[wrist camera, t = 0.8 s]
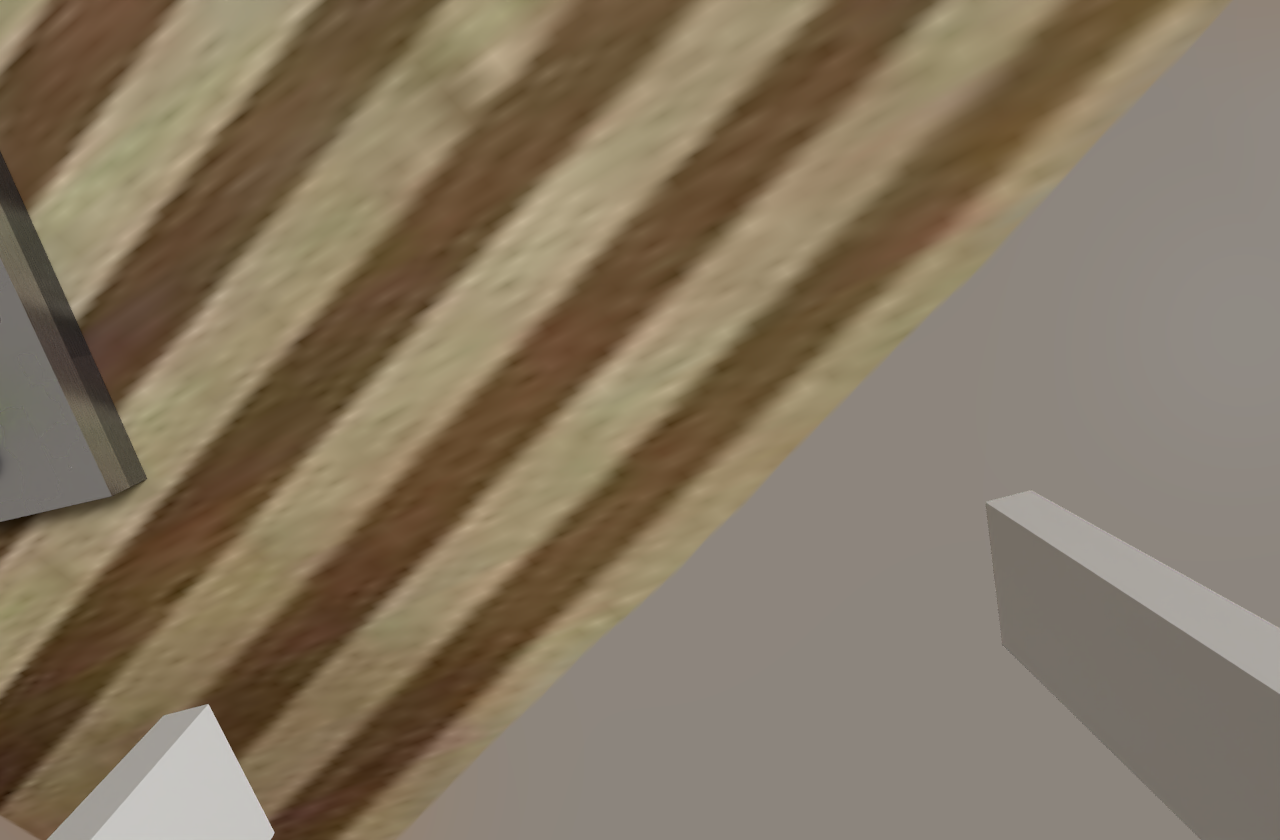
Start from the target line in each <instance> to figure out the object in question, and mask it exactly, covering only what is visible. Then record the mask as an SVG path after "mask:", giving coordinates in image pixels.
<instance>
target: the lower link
mask: <svg viewBox="0 0 1280 840" xmlns="http://www.w3.org/2000/svg"><path fill="white" fill-rule="evenodd" d="M0 204H1V206H2V208H3V211H4V213H5V215H6V217H7V219H8V222H9V224H10V226H11V228H12V230H13V232H14V235H15V237H16V239H17V241H18V243H19V246H20V248H21V250H22V252H23V254H24V256H25V259H26V261H27V263H28V265H29V267H30V270H31V272H32V274H33V276H34V278H35V281H36V283H37V285H38V287H39V289H40V291H41V294H42V296H43V298H44V300H45V302H46V305H47V307H48V309H49V311H50V313H51V315H52V318H53V320H54V322H55V324H56V326H57V329H58V331H59V333H60V335H61V337H62V340H63V342H64V344H65V346H66V348H67V350H68V353H69V355H70V357H71V359H72V358H77V357H82V356H87V355H91V353H90V351H89V348H88V346H87V344H86V342H85V339H84V337H83V335H82V333H81V331H80V328H79V326H78V324H77V322H76V319H75V317H74V315H73V313H72V310H71V308H70V306H69V304H68V302H67V299H66V297H65V295H64V293H63V290H62V288H61V286H60V284H59V282H58V279H57V277H56V275H55V273H54V270H53V268H52V266H51V264H50V261H49V259H48V257H47V255H46V253H45V250H44V248H43V246H42V244H41V241H40V239H39V237H38V235H37V232H36V230H35V228H34V226H33V224H32V221H31V219H30V217H29V215H28V212H27V210H26V208H25V206H24V204H23V201H22V199H21V197H20V195H19V192H18V190H17V188H16V186H15V183H14V181H13V179H12V177H11V175H10V172H9V170H8V168H7V166H6V163H5V161H4V159H3V157H2V154H1V152H0Z"/></svg>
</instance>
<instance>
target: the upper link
mask: <svg viewBox="0 0 1280 840" xmlns="http://www.w3.org/2000/svg"><path fill="white" fill-rule="evenodd" d="M146 479H147V478H146V475H145V473H144V471H143V469H142V467H141V464H140V462H139V460H138V458H137V455H136V453H135V451H134V449H133V446H132V444H131V442H130V440H129V438H128V435H127V433H126V431H125V429H124V426H123V424H122V422H121V420H120V417H119V415H118V413H117V411H116V409H115V406H114V404H113V402H112V400H111V397H110V395H109V393H108V391H107V389H106V386H105V384H104V382H103V380H102V377H101V375H100V373H99V371H98V368H97V366H96V364H95V362H94V360H93V357H92V355H87V356H82V357H77V358H72V359H71V357H70V355H69V353H68V350H67V348H66V346H65V344H64V342H63V340H62V337H61V335H60V333H59V331H58V329H57V326H56V324H55V322H54V320H53V318H52V315H51V313H50V311H49V309H48V307H47V305H46V302H45V300H44V298H43V296H42V294H41V291H40V289H39V287H38V285H37V283H36V281H35V278H34V276H33V274H32V272H31V270H30V267H29V265H28V263H27V261H26V259H25V256H24V254H23V252H22V250H21V248H20V246H19V243H18V241H17V239H16V237H15V235H14V232H13V230H12V228H11V226H10V224H9V222H8V219H7V217H6V215H5V213H4V211H3V208H2V206H1V204H0V522H2V521H6V520H10V519H15V518H19V517H23V516H28V515H32V514H37V513H41V512H45V511H50V510H54V509H58V508H63V507H67V506H71V505H76V504H80V503H84V502H89V501H93V500H97V499H102V498H106V497H110V496H113V495H115V494H117V493H119V492H121V491H123V490H125V489H127V488H129V487H131V486H133V485H135V484H137V483H140V482H142V481H144V480H146Z"/></svg>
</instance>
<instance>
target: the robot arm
mask: <svg viewBox="0 0 1280 840" xmlns="http://www.w3.org/2000/svg"><path fill="white" fill-rule="evenodd" d="M986 511H987V520H988V528H989V536H990V545H991V554H992V562H993V571H994V579H995V587H996V595H997V604H998V613H999V621H1000V630H1001V638H1002V645H1003V646H1004V647H1005V648H1006V649H1007V650H1008V651H1009V652H1010V653H1011V654H1012V655H1013V656H1014V657H1015V658H1016V659H1017V660H1018V661H1019V662H1020V663H1021V664H1022V665H1023V666H1024V667H1025V668H1026V669H1027V670H1029V672H1031V674H1032V675H1034V677H1036V678H1037V679H1038V680H1039V681H1040V682H1041V683H1042V684H1043V685H1044V686H1045V687H1046V688H1047V689H1048V690H1049V691H1050V692H1051V693H1052V694H1053V695H1054V696H1055V697H1056V698H1057V699H1058V700H1059V701H1060V702H1061V703H1062V704H1063V705H1064V706H1065V707H1066V708H1067V709H1068V710H1069V711H1070V712H1071V713H1072V714H1073V715H1074V716H1076V718H1077V719H1078V720H1079V721H1080V722H1082V724H1083V725H1085V726H1086V727H1087V728H1088V729H1089V730H1090V731H1091V732H1092V733H1093V734H1094V735H1095V736H1096V737H1097V738H1098V739H1099V740H1100V741H1101V742H1102V743H1103V744H1104V745H1105V746H1106V747H1107V748H1108V749H1109V750H1110V751H1111V752H1112V753H1113V754H1114V755H1115V756H1116V757H1117V758H1118V759H1119V760H1120V761H1121V762H1122V763H1123V764H1124V765H1125V766H1126V767H1127V768H1128V769H1129V770H1130V771H1131V772H1133V774H1135V775H1136V776H1137V777H1138V778H1139V779H1140V780H1141V781H1142V782H1143V783H1144V784H1145V785H1146V786H1147V787H1148V788H1149V789H1150V790H1151V791H1152V792H1153V793H1154V794H1155V795H1156V796H1157V797H1158V798H1159V799H1160V800H1161V801H1162V802H1163V803H1164V804H1165V805H1166V806H1167V807H1168V808H1169V809H1170V810H1171V811H1172V812H1173V813H1174V814H1175V815H1176V816H1177V817H1178V818H1179V819H1180V820H1181V821H1183V822H1184V823H1185V824H1186V825H1187V826H1188V827H1189V828H1190V829H1191V830H1192V831H1193V832H1194V833H1195V834H1196V835H1197V836H1198V837H1199V838H1200V839H1201V840H1280V628H1278V627H1277V626H1275V625H1273V624H1271V623H1270V622H1268V621H1266V620H1264V619H1262V618H1260V617H1259V616H1257V615H1255V614H1253V613H1251V612H1250V611H1248V610H1246V609H1244V608H1242V607H1241V606H1239V605H1237V604H1235V603H1233V602H1231V601H1230V600H1228V599H1226V598H1224V597H1223V596H1221V595H1219V594H1217V593H1215V592H1214V591H1212V590H1210V589H1208V588H1206V587H1205V586H1203V585H1201V584H1199V583H1197V582H1196V581H1194V580H1192V579H1190V578H1188V577H1187V576H1185V575H1183V574H1181V573H1179V572H1178V571H1176V570H1174V569H1172V568H1170V567H1169V566H1167V565H1165V564H1163V563H1161V562H1160V561H1158V560H1156V559H1154V558H1152V557H1151V556H1149V555H1147V554H1145V553H1143V552H1142V551H1140V550H1138V549H1136V548H1134V547H1133V546H1131V545H1129V544H1127V543H1125V542H1124V541H1122V540H1120V539H1118V538H1116V537H1115V536H1113V535H1111V534H1109V533H1107V532H1106V531H1104V530H1102V529H1100V528H1098V527H1097V526H1095V525H1093V524H1091V523H1089V522H1088V521H1086V520H1084V519H1082V518H1080V517H1078V516H1077V515H1075V514H1073V513H1071V512H1070V511H1068V510H1066V509H1064V508H1062V507H1061V506H1059V505H1057V504H1055V503H1053V502H1052V501H1050V500H1048V499H1046V498H1044V497H1042V496H1041V495H1039V494H1037V493H1035V492H1034V491H1032V490H1030V491H1026V492H1022V493H1018V494H1015V495H1011V496H1007V497H1003V498H1000V499H996V500H992V501H988V502H986ZM273 835H274V831H273V829H272V827H271V825H270V823H269V821H268V819H267V817H266V815H265V813H264V811H263V809H262V807H261V805H260V803H259V801H258V799H257V798H256V796H255V794H254V792H253V790H252V788H251V786H250V784H249V782H248V780H247V778H246V776H245V774H244V772H243V770H242V768H241V766H240V764H239V763H238V761H237V759H236V757H235V755H234V753H233V751H232V749H231V747H230V745H229V743H228V741H227V739H226V737H225V735H224V733H223V731H222V729H221V728H220V726H219V724H218V722H217V720H216V718H215V716H214V714H213V712H212V710H211V708H210V706H209V704H206V705H203V706H199V707H195V708H191V709H187V710H183V711H179V712H176V713H172V714H168V715H164V716H163V717H162V718H161V719H160V720H159V721H158V722H157V723H156V724H155V725H154V726H153V727H152V728H151V729H150V730H149V732H148V733H147V734H146V735H145V736H144V737H143V738H142V739H141V740H140V741H139V742H138V743H137V744H136V745H135V746H134V747H133V749H132V750H131V751H130V752H129V753H128V754H127V755H126V756H125V757H124V758H123V759H122V760H121V761H120V762H119V763H118V764H117V766H116V767H115V768H114V769H113V770H112V771H111V772H110V773H109V774H108V775H107V776H106V777H105V778H104V779H103V780H102V781H101V783H100V784H99V785H98V786H97V787H96V788H95V789H94V790H93V791H92V792H91V793H90V794H89V795H88V796H87V797H86V799H85V800H84V801H83V802H82V803H81V804H80V805H79V806H78V807H77V808H76V809H75V810H74V811H73V812H72V813H71V814H70V816H69V817H68V818H67V819H66V820H65V821H64V822H63V823H62V824H61V825H60V826H59V827H58V828H57V829H56V830H55V831H54V833H53V834H52V835H51V836H50V837H49V838H48V839H47V840H271V838H272V837H273Z"/></svg>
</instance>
